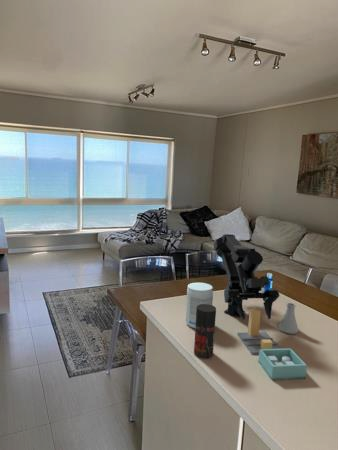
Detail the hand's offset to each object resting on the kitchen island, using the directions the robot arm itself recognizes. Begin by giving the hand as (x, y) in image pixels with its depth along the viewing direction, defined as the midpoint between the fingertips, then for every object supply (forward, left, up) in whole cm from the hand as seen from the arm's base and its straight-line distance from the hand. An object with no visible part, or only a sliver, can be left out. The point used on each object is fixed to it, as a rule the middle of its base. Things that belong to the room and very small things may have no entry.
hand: (256, 319), depth 113 cm
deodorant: (+20, -9, -7) cm, 23 cm away
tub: (+13, +13, -7) cm, 20 cm away
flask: (-15, +7, -7) cm, 18 cm away
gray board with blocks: (+2, +2, -7) cm, 8 cm away
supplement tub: (+3, -21, -7) cm, 22 cm away
